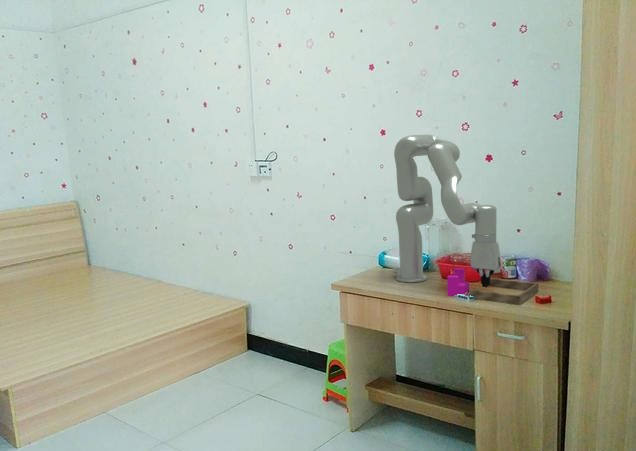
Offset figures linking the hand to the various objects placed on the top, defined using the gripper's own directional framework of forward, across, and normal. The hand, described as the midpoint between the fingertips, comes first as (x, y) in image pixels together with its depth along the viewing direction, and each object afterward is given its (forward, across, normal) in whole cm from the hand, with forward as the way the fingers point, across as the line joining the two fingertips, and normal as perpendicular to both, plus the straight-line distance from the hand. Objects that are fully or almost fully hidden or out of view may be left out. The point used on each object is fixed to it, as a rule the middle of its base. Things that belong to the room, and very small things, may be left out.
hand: (485, 286), depth 210 cm
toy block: (+3, -9, -3) cm, 10 cm away
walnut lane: (+2, +7, 0) cm, 7 cm away
